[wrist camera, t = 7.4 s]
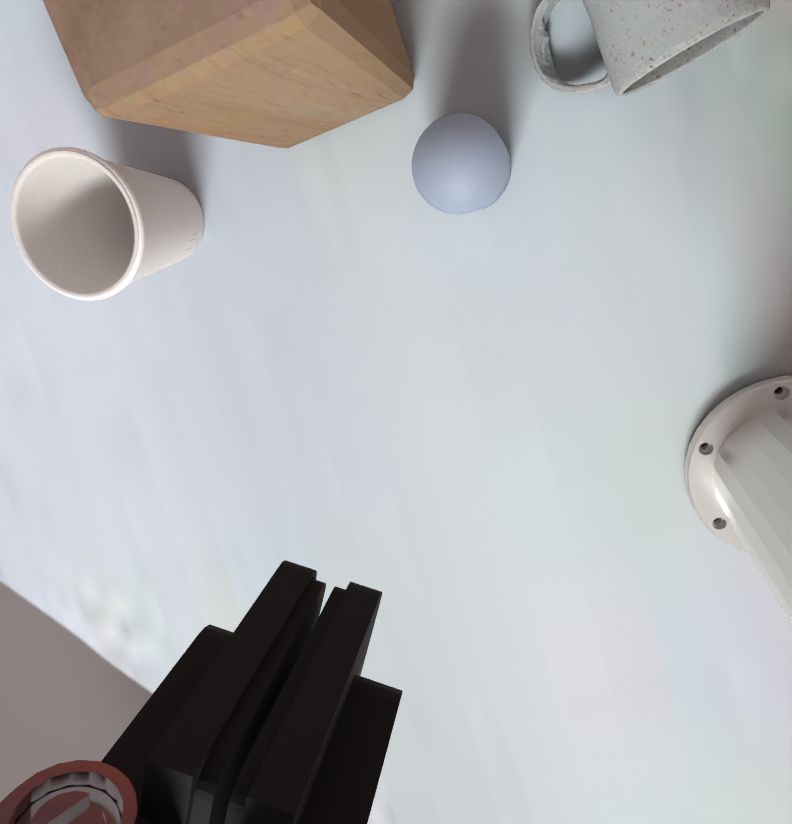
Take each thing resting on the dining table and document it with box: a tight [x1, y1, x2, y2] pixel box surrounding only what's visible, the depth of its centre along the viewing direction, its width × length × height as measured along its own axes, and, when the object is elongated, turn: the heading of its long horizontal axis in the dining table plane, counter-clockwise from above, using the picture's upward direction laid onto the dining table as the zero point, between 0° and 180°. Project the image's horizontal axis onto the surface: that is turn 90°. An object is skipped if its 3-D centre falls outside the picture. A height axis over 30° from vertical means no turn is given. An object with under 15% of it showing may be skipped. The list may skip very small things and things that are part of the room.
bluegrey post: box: [412, 113, 511, 214], centre depth 37 cm, size 5×5×7 cm
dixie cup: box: [10, 147, 204, 300], centre depth 41 cm, size 8×8×10 cm
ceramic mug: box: [530, 0, 770, 96], centre depth 33 cm, size 11×8×8 cm
